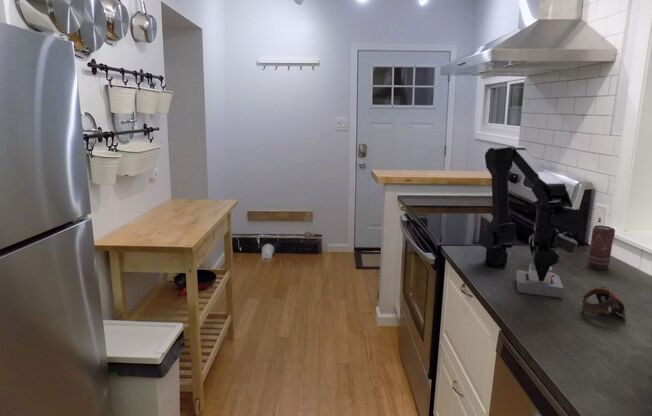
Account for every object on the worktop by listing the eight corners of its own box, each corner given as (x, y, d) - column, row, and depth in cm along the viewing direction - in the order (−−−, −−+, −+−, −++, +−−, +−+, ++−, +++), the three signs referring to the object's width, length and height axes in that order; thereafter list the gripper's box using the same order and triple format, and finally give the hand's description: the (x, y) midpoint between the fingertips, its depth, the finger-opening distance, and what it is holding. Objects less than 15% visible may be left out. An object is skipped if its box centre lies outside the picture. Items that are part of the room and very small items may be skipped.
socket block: (518, 291, 132) (519, 280, 131) (516, 279, 142) (517, 268, 141) (562, 297, 128) (563, 286, 128) (557, 284, 138) (558, 273, 137)
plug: (528, 289, 134) (531, 267, 132) (527, 284, 138) (529, 262, 136) (549, 292, 132) (552, 269, 131) (547, 286, 136) (550, 264, 135)
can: (612, 271, 150) (618, 230, 146) (590, 269, 151) (597, 229, 148) (604, 265, 155) (611, 225, 152) (584, 263, 157) (590, 224, 154)
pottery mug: (632, 329, 112) (620, 302, 110) (590, 335, 117) (578, 310, 115) (624, 299, 122) (613, 274, 120) (585, 306, 127) (574, 282, 125)
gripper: (583, 236, 119) (575, 291, 123) (572, 219, 137) (565, 268, 140) (537, 231, 123) (530, 285, 127) (531, 216, 140) (525, 263, 144)
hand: (539, 275), depth 134 cm, fingers open, 9 cm apart
